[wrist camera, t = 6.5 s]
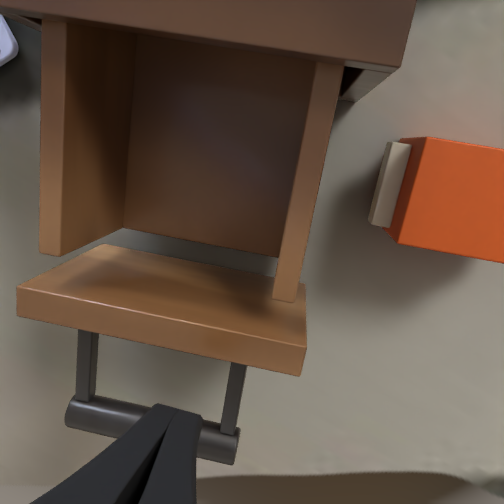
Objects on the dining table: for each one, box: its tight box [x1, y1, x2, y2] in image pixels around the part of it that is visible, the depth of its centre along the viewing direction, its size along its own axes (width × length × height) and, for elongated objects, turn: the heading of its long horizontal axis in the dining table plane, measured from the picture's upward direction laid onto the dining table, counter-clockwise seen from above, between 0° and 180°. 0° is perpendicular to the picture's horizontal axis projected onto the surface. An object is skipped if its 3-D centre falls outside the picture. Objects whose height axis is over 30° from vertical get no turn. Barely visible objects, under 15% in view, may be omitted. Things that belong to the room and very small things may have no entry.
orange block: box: [368, 137, 504, 263], centre depth 16 cm, size 4×7×4 cm, turn 81°
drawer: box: [16, 19, 344, 465], centre depth 16 cm, size 18×10×6 cm, turn 171°
